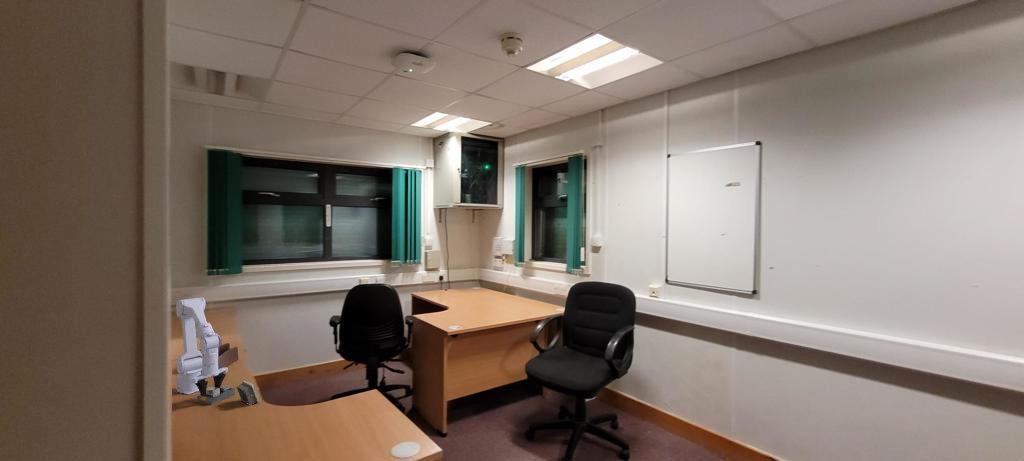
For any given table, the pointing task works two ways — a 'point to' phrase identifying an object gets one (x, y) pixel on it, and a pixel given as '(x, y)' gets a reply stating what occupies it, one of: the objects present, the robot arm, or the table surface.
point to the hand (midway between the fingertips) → (210, 393)
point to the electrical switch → (248, 393)
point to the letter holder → (226, 355)
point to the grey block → (212, 391)
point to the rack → (224, 393)
